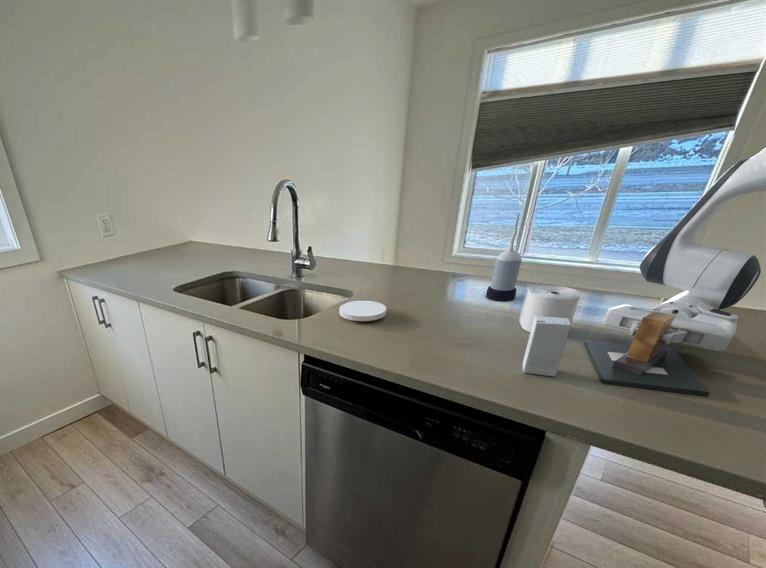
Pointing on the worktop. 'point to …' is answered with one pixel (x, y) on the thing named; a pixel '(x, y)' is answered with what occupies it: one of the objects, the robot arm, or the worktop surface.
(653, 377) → the slate board
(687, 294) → the robot arm
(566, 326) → the cosmetic box
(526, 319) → the toilet tissue
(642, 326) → the eraser
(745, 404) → the worktop surface
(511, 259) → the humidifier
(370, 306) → the plastic lid
